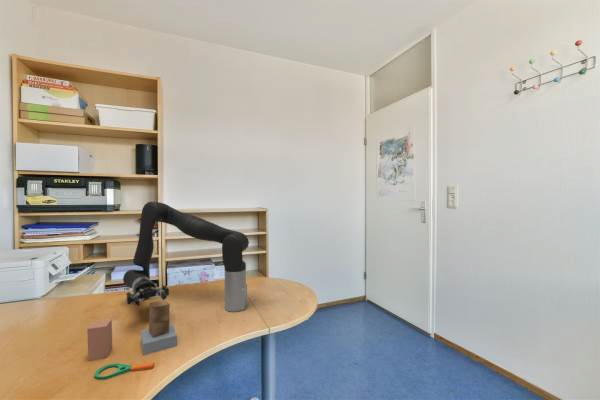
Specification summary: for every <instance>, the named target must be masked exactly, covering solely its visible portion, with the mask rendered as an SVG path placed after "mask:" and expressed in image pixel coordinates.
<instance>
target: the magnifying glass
mask: <svg viewBox="0 0 600 400" xmlns="http://www.w3.org/2000/svg"><path fill="white" fill-rule="evenodd" d="M111 368H117V370H116V371H114V372H113V373H109V374H108V375H103V376H101V375H100V374H101V373H102V372H104V371H106V370H109V369H111ZM154 368H155V361H151V362H143V363H138V364H125V363H120V362H119V363H118V362H113V363H109V364H106V365H103V366H101V367H100V368H98V369H96V371H95V372H94V378H95V379H96V380H98V381H104V380H109V379H112V378H115V377H117V376H120V375H124V374H126V373H129V372H136V371H137V372H139V371H144V370H152V369H154Z"/></svg>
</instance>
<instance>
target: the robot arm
mask: <svg viewBox="0 0 600 400" xmlns="http://www.w3.org/2000/svg"><path fill="white" fill-rule="evenodd" d="M156 223H164V224H168V225H171V226H174V227H176V228H177V229H178V230H179V231H180V232H181V233H182V234H185V235H187V236H189V237H191V238H194V239H197V240H201V241H208V242H216V243H219V244H221V254H222V257H221V258H222V264H223V267H224V310H226V311H227V312H234V313H235V312H240V311H245V309H246V308H247V305H248V284H247V270H246V269H247V264H246V263H247V262H245V261H244V260H243V252H244V251H246V249H247V248H248V247H249V243H250V241H249V238H248V236H247V235H245V233H243V232H240V231H238V230H237V231H236V230H233V229H229V228H225V227H223V226H220V225H218V224H215V223H213V222H211V221H209V220H207V219H204V218H201V217H198V216H196V215H193V214H190V213H187V212H182V211H180V210H178V209H175V208H174V207H172V206H170V205H168V204H166V203H163V202H158V201H147V202H146V203H145V204H144V205H143V207H142V210H141V215H140V225H139V234H138V239H137V240H138V241H137V245H136V249H135V253H134V255H133V259H132V264H133V265H135V266H138V267H141V268H142V270H141V269H128V270H127V271H125V273H124V275H123V278H122V281H123V284H124V286H126V287H127V288H130V289H132V292H133V293H132V292H126V294H125V295H126V304H127V305H130V304H134V305H135V306H137V307H138V306H140V304H141V302H142V301H146V300H149V299H152V298H155V299H158V298H161V300H166V299H167V297H168V296H169V295H170V289H169V287H167V286H166V285H162V286H161V287H160V288H159V287H156V285H155V284H154V282H153V281H152V280H151V276H150V274H151V272H150V271H151V270H150V266H151V260H152V257H153V253H154V247H155V246H154V245H155V244H154V238H153V231H154V227H155V224H156Z"/></svg>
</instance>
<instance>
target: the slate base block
mask: <svg viewBox="0 0 600 400" xmlns="http://www.w3.org/2000/svg"><path fill="white" fill-rule="evenodd" d="M140 336H141V337H140V339H141V348H142V349H141V350H142V355H143V356H145V355H148V354H152V353H157V352H160V351H164V350H166V349H172V348H174V347H177V346H178V335H177V332H176V328H175V327H174V323H172V322H170V323H169V333H166V334H163V335H160V336H156V337H152V335H151V334H150V332H149V328H147V329H146V328H145V329H143V330H140Z"/></svg>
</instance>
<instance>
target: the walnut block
mask: <svg viewBox="0 0 600 400" xmlns="http://www.w3.org/2000/svg"><path fill="white" fill-rule="evenodd" d="M170 305H171V304H170V303H169V301H167V300H166V299H165V300H162V299H160V300H156V301H151V302H149V310H148V311H149V316H148V321H149V323H148V329H149V332H150V334H151V335H152V337H156V336H160V335H163V334H166V333H169V324H170V307H171V306H170Z"/></svg>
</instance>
